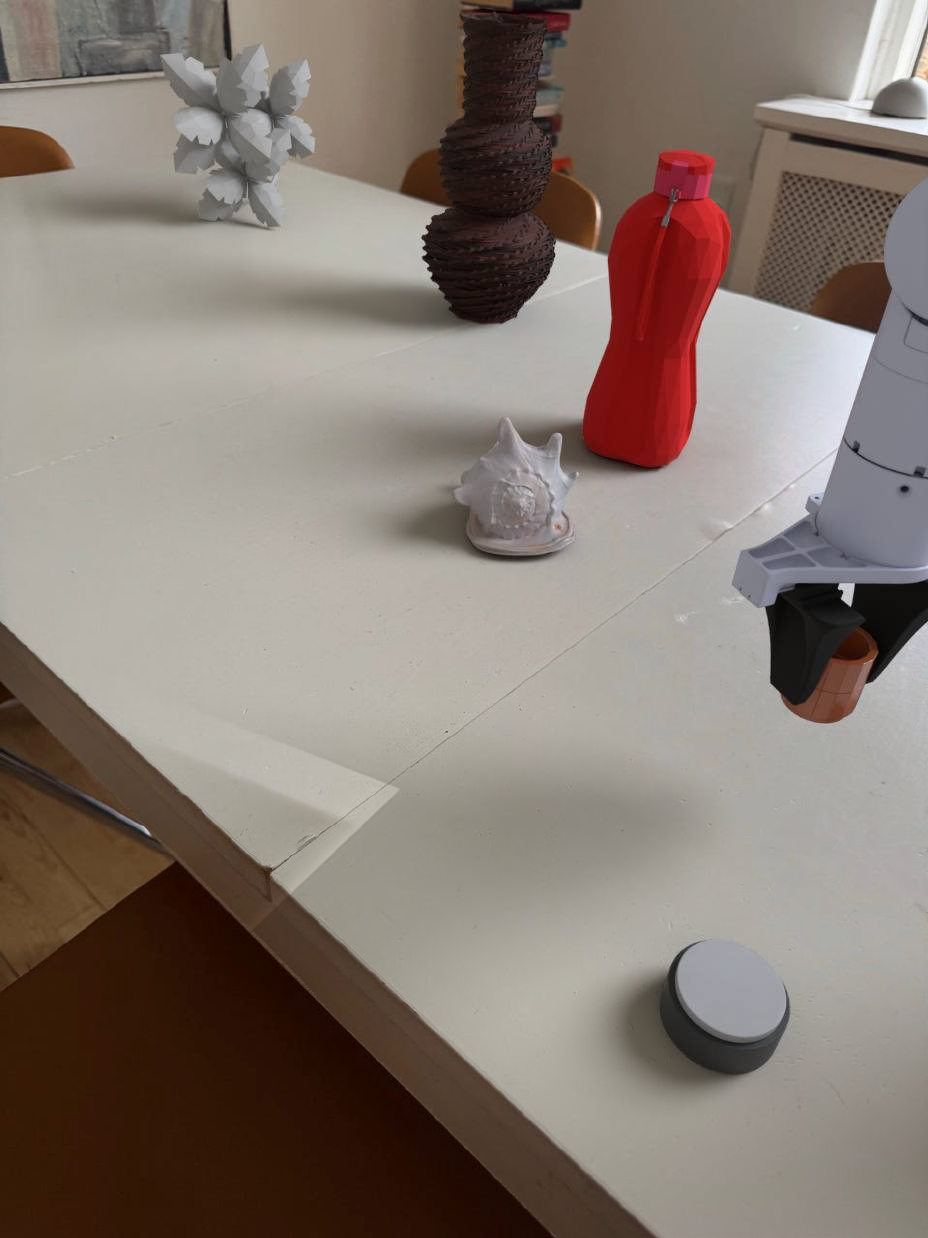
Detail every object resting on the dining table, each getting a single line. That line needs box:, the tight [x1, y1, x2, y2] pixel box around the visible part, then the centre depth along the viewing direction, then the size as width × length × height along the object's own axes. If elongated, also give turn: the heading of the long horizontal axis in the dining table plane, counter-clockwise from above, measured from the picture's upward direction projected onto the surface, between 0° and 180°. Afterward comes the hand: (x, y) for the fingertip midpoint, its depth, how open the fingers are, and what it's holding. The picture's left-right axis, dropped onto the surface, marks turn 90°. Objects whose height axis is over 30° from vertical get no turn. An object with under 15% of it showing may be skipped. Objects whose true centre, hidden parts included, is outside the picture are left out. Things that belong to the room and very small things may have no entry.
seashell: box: [452, 416, 580, 556], centre depth 75 cm, size 10×12×9 cm
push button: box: [659, 938, 791, 1075], centre depth 43 cm, size 5×5×2 cm
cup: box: [779, 626, 878, 724], centre depth 50 cm, size 4×4×4 cm
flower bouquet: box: [159, 42, 316, 228], centre depth 137 cm, size 17×34×21 cm, turn 160°
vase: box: [420, 11, 557, 324], centre depth 106 cm, size 15×15×30 cm
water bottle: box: [581, 149, 732, 469], centre depth 81 cm, size 9×11×25 cm
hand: (822, 681), depth 51 cm, fingers closed on cup, 4 cm apart
